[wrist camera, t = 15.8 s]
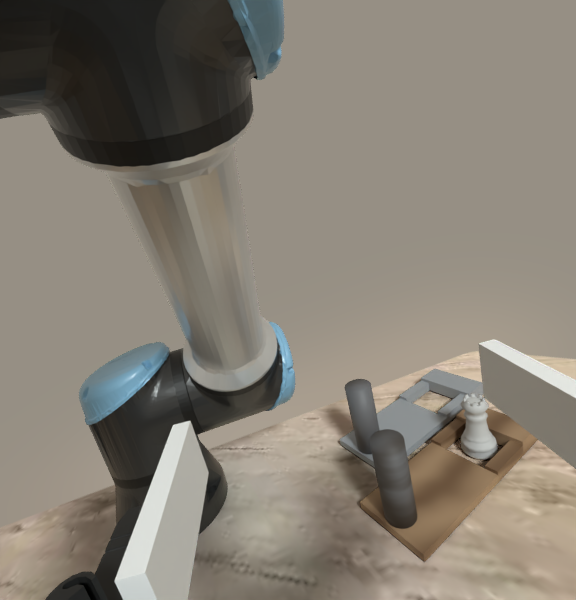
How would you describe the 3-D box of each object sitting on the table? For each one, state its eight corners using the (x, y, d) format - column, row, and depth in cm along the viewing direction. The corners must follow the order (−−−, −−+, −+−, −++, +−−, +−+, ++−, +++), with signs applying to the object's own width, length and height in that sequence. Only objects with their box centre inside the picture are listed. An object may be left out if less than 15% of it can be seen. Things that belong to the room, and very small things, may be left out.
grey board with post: (340, 444, 54) (326, 382, 52) (435, 378, 66) (428, 324, 63) (385, 474, 47) (371, 403, 44) (483, 393, 58) (477, 332, 55)
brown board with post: (361, 508, 43) (344, 432, 40) (472, 413, 54) (465, 349, 51) (424, 562, 35) (409, 472, 32) (538, 438, 47) (534, 364, 44)
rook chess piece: (476, 466, 45) (470, 412, 43) (454, 445, 49) (447, 395, 47) (506, 454, 46) (502, 401, 44) (481, 435, 50) (476, 385, 48)
